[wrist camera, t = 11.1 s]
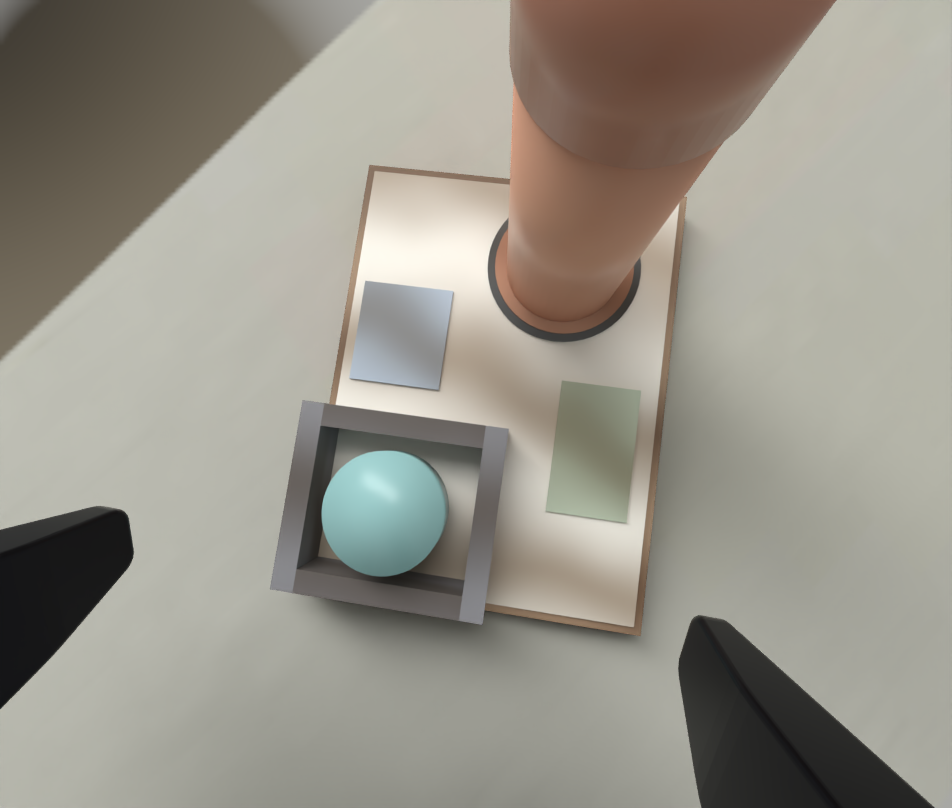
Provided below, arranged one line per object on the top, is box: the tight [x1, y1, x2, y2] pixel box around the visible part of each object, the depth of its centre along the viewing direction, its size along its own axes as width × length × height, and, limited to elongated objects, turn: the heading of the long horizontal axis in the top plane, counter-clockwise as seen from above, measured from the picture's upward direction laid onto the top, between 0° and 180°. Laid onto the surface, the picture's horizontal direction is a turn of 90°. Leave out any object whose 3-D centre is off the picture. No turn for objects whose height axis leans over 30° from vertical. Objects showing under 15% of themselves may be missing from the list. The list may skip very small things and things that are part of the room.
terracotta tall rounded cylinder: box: [507, 0, 836, 322], centre depth 12 cm, size 5×5×13 cm
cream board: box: [270, 165, 687, 636], centre depth 18 cm, size 17×13×3 cm
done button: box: [322, 450, 449, 577], centre depth 16 cm, size 4×4×2 cm
